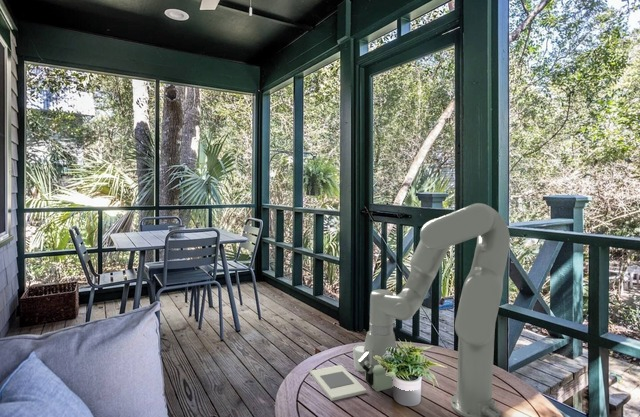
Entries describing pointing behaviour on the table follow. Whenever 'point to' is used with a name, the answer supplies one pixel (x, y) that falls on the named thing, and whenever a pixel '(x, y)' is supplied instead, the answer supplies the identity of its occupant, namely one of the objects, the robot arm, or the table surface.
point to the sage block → (380, 379)
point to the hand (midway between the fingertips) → (379, 380)
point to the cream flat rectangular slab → (337, 382)
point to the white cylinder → (358, 357)
